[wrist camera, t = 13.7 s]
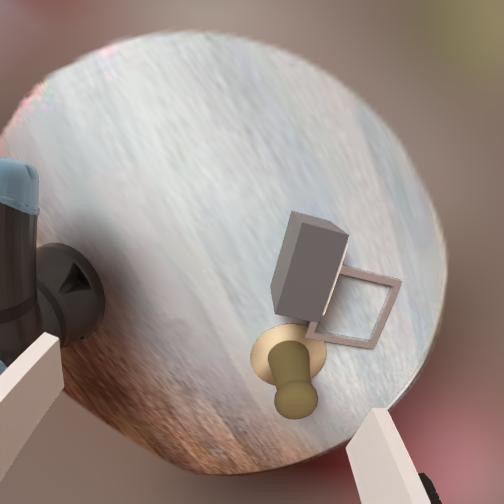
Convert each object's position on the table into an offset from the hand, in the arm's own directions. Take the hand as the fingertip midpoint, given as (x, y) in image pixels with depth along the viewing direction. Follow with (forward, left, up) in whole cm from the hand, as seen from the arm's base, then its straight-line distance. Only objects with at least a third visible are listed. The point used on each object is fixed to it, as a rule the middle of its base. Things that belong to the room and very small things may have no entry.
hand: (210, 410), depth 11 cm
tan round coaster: (+11, -15, -29) cm, 34 cm away
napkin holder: (+8, 0, -29) cm, 30 cm away
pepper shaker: (+11, -15, -29) cm, 34 cm away
